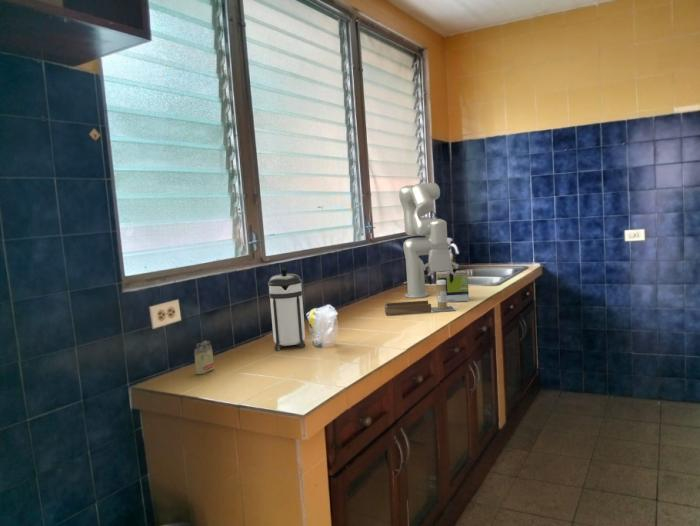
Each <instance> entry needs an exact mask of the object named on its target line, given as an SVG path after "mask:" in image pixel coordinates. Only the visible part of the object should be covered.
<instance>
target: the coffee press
mask: <svg viewBox="0 0 700 526" xmlns="http://www.w3.org/2000/svg"><path fill="white" fill-rule="evenodd" d="M280 272H281V274H276V275H272V276H271V277H269V280H268V282H267V285H268V291H269V292H268V296H269V302H270V314H271V315H270V316H271V324H272V325H271V326H272V337H273V342H274V344H275V345H274V350H275V351H280V350H281V348H282V347H283V346H285V347H287V346H294V345H297V346H298V347H299V348H301V349H304V348H306V344H305V339H306V330H305V329H306V327H305V316H304V314H305V313H304V304H303V288H302V283H303V280H302V279H301V277H300V275H298V274H296V273H287V272H288V270H287V268H286V267H281V270H280Z"/></svg>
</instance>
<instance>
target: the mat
mask: <svg viewBox="0 0 700 526" xmlns="http://www.w3.org/2000/svg"><path fill="white" fill-rule="evenodd" d="M431 312H433V313H444V312H445V313H447V312H456V309H455V308H454V307H453V306H452V305H449V306H448V305H447V309H438V306H435V307H434V306H433V307H432V306H431Z"/></svg>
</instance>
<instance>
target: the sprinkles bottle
mask: <svg viewBox="0 0 700 526" xmlns="http://www.w3.org/2000/svg"><path fill="white" fill-rule="evenodd" d="M435 285H436V300H437V307H438V309H447V306H448V304H447V303H448V302H447V296H446V280H437V279H436V281H435Z"/></svg>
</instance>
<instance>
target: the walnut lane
mask: <svg viewBox="0 0 700 526" xmlns="http://www.w3.org/2000/svg"><path fill="white" fill-rule="evenodd" d="M383 305H384V313H385V316H387V317H388V316H389V317H390V316H401V315H403V316H404V315H417V314H418V315H419V314H420V315H421V314H430V313H432V310H431V307H432V304H431V303H429V300H416V301H414V300H413V301H399V302H385V303H384V304H383Z"/></svg>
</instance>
